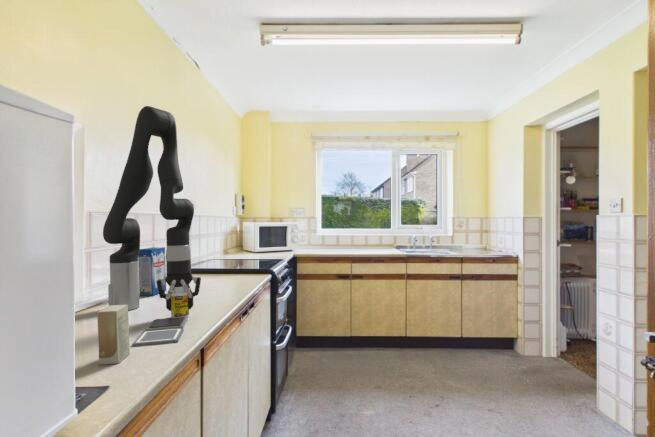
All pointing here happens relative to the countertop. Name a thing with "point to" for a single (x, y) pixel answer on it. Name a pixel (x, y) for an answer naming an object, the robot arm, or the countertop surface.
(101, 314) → the skincare box
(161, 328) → the ink pad
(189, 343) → the countertop surface
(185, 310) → the supplement bottle
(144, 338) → the grey square pad
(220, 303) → the countertop surface
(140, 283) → the milk carton
